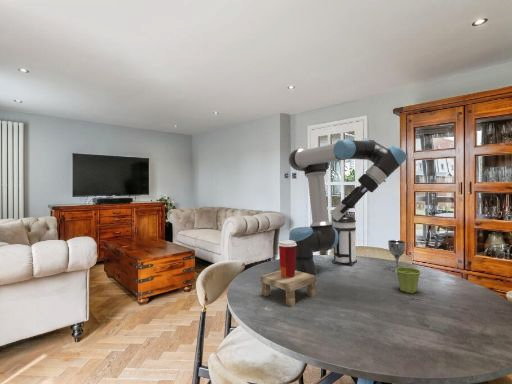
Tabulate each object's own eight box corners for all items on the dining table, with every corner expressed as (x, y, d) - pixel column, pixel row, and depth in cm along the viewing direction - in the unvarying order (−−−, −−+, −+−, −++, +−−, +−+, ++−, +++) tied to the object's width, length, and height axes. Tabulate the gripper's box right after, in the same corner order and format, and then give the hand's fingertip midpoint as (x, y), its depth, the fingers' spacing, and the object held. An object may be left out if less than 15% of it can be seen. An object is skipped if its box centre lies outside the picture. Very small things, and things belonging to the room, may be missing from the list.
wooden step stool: (261, 295, 117) (260, 276, 117) (286, 285, 128) (286, 268, 128) (290, 306, 105) (290, 285, 105) (316, 295, 116) (316, 275, 116)
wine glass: (406, 269, 150) (405, 240, 150) (404, 273, 143) (404, 243, 143) (389, 267, 154) (389, 239, 154) (387, 271, 148) (387, 242, 148)
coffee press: (325, 260, 171) (325, 210, 171) (351, 259, 173) (350, 209, 172) (337, 268, 154) (336, 212, 153) (365, 267, 156) (364, 212, 155)
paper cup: (298, 273, 119) (298, 240, 119) (295, 279, 112) (294, 243, 112) (280, 272, 122) (280, 239, 122) (275, 277, 115) (275, 242, 114)
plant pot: (424, 295, 114) (424, 273, 114) (399, 294, 116) (399, 272, 116) (416, 287, 123) (416, 267, 123) (393, 286, 125) (392, 266, 125)
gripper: (386, 185, 101) (343, 227, 105) (372, 186, 126) (337, 219, 129) (370, 171, 102) (328, 213, 106) (359, 174, 127) (325, 208, 130)
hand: (333, 216), depth 117 cm, fingers open, 13 cm apart
